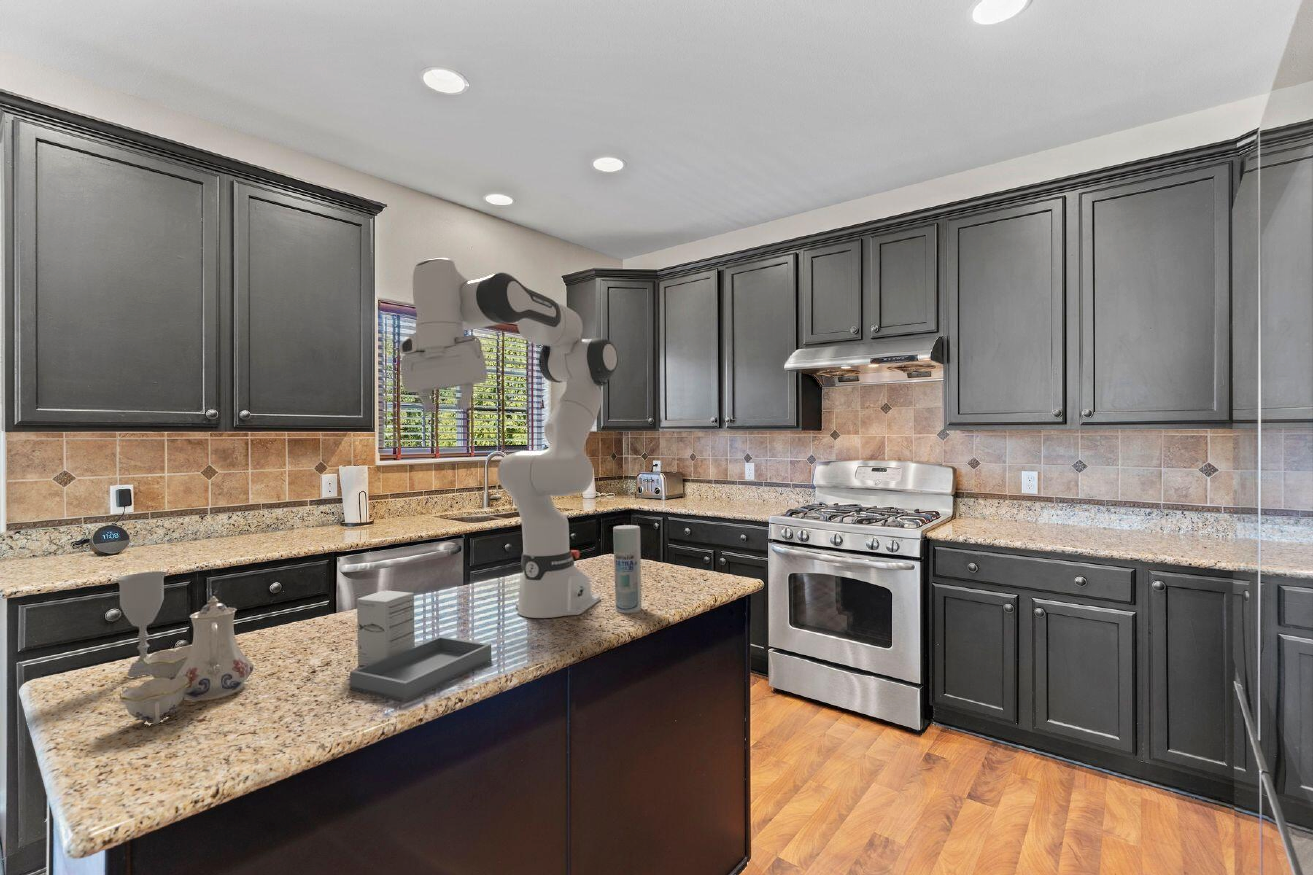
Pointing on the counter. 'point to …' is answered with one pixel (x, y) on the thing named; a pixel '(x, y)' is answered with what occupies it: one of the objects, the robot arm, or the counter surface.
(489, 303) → the robot arm
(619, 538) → the spray can
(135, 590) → the chalice
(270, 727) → the counter surface
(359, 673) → the tray
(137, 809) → the counter surface
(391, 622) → the supplement box
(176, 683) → the chinaware
